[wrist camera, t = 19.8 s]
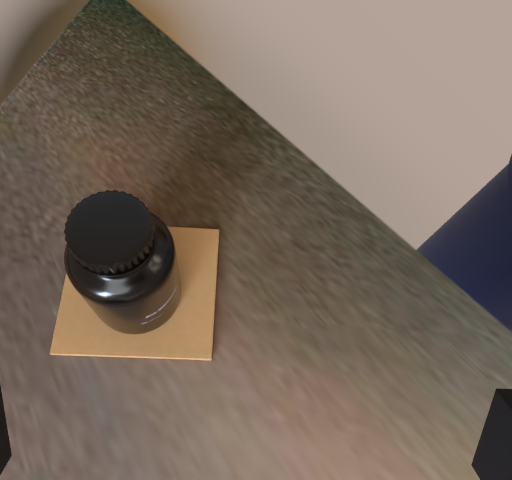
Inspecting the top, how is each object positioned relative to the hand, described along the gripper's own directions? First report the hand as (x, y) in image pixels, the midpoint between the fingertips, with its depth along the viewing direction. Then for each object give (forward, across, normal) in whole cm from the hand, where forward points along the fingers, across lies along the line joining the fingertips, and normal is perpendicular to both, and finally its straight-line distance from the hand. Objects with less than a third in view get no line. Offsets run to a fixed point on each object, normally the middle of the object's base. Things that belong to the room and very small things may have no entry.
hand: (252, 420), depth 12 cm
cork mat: (+23, -8, -8) cm, 26 cm away
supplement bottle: (+22, -8, -8) cm, 25 cm away
